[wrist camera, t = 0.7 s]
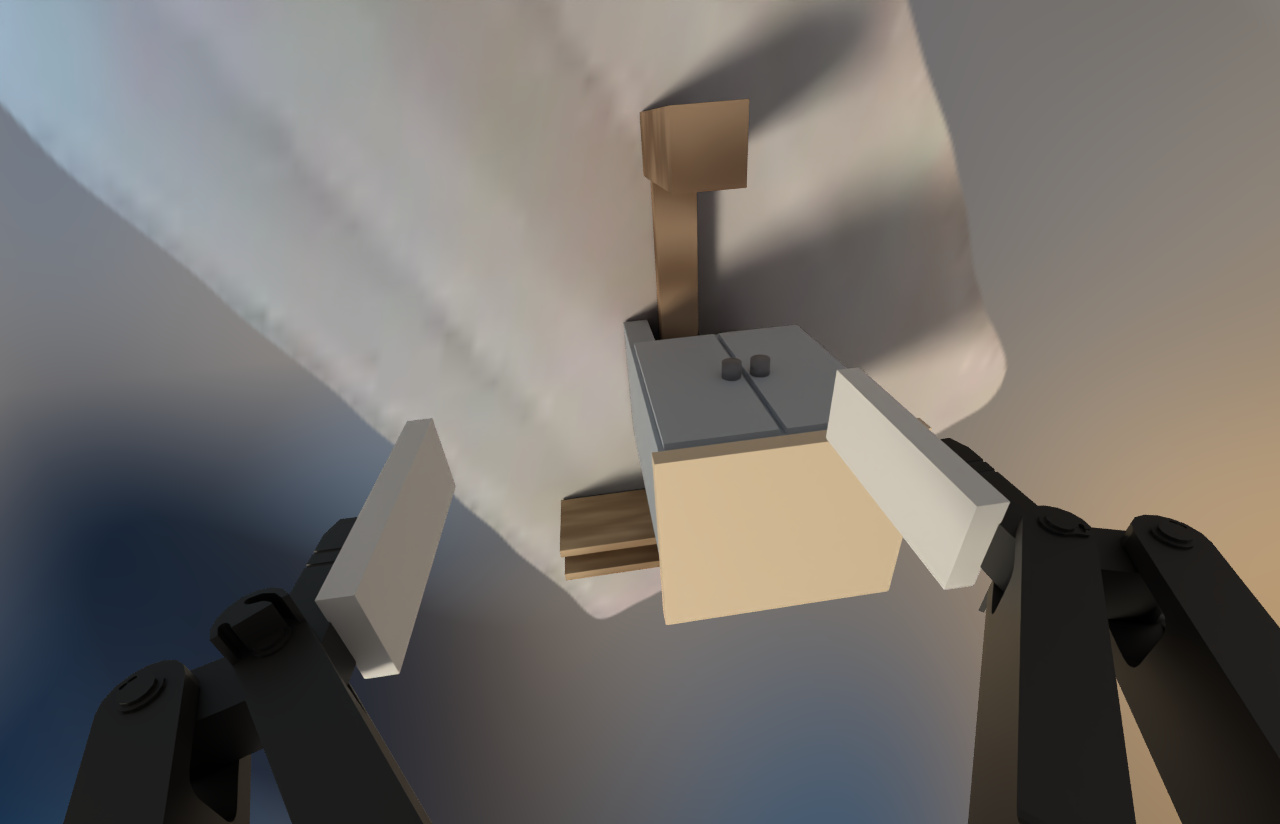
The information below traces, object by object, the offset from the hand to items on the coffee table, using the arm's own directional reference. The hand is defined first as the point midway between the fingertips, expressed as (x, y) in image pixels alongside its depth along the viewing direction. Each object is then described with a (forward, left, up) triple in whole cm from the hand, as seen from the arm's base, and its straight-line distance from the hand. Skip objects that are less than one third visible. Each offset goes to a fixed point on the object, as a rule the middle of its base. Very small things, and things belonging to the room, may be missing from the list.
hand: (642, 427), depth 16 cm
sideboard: (+11, +8, -26) cm, 29 cm away
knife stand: (+26, +3, -26) cm, 37 cm away
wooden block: (-1, +6, -26) cm, 27 cm away
